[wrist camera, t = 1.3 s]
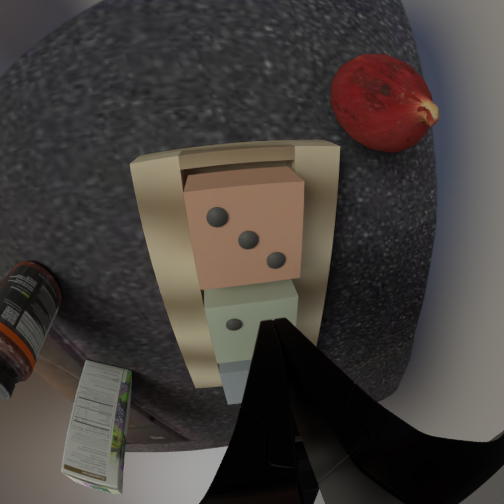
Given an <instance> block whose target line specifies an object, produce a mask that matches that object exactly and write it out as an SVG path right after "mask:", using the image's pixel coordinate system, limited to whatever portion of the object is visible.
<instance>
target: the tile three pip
mask: <svg viewBox="0 0 504 504" xmlns="http://www.w3.org/2000/svg"><path fill="white" fill-rule="evenodd" d="M183 193H184V200H185V207H186V213H187V219H188V226H189V232H190V237H191V243H192V249H193V254H194V260H195V265H196V270H197V275H198V280H199V285H200V290H205V289H214V288H223V287H232V286H240V285H248V284H256V283H264V282H272V281H279V280H287V279H294V278H300V269H301V253H302V234H303V211H304V181H303V180H302V179H301V178H300V177H299V176H298V175H297V174H296V173H295V172H293V171H292V170H291V169H290V168H289V167H288V166H287V167H269V168H255V169H242V170H231V171H221V172H212V173H203V174H195V175H188V178H187V181H186V185H185V188H184V192H183Z"/></svg>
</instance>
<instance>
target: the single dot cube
mask: <svg viewBox="0 0 504 504" xmlns="http://www.w3.org/2000/svg"><path fill="white" fill-rule="evenodd" d="M251 360H252V359H251ZM251 360H243V361H235V362H226V363H219V371H220V377H221V380H222V384H223V388H224V392H225V395H226V399H227V403H228V404H237V403H242V399H243V394H244V390H245V386H246V382H247V377H248V373H249V369H250V364H251Z"/></svg>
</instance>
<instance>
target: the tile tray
mask: <svg viewBox="0 0 504 504" xmlns="http://www.w3.org/2000/svg"><path fill="white" fill-rule="evenodd" d="M339 161H340V146H338V145H336V144H333V143H331V142H328V141H326V140H277V141H256V142H241V143H229V144H218V145H209V146H200V147H192V148H184V149H177V150H171V151H164V152H158V153H152V154H147V155H141V156H139V157H138V158H137V159H135V160H134V161H133V162H132V163H130V168H131V174H132V179H133V185H134V190H135V195H136V199H137V204H138V209H139V213H140V218H141V222H142V226H143V230H144V234H145V238H146V242H147V246H148V250H149V254H150V257H151V261H152V265H153V268H154V272H155V275H156V279H157V282H158V285H159V288H160V292H161V295H162V298H163V301H164V304H165V307H166V310H167V313H168V316H169V319H170V322H171V325H172V328H173V331H174V334H175V336H176V339H177V342H178V345H179V347H180V350H181V353H182V355H183V358H184V360H185V363H186V365H187V368H188V370H189V373H190V375H191V378H192V380H193V383H194V385H195V387H196V388H205V387H217V386H223V384H222V380H221V377H220V371H219V363H217V361H216V357H215V353H214V349H213V345H212V340H211V336H210V332H209V327H208V323H207V319H206V314H205V309H204V290H200V285H199V280H198V275H197V270H196V265H195V260H194V254H193V249H192V243H191V237H190V232H189V226H188V219H187V213H186V207H185V200H184V193H183V192H184V188H185V185H186V181H187V178H188V175H195V174H203V173H212V172H221V171H231V170H242V169H255V168H269V167H287V166H288V167H289V168H290V169H291V170H292V171H293V172H295V173H296V174H297V175H298V176H299V177H300V178H301V179H302V180H303V181H304V211H303V234H302V253H301V269H300V278H294V279H291V280H292V282H293V285H294V287H295V289H296V292H297V294H298V308H297V319H296V328H297V329H298V330H300V331H301V332H302V333H303V334H304V335H305V336H306V337H307V338H308V339H309V340H310V341H311V342H312V343H313V344H314V345H315V346H316V345H317V340H318V335H319V330H320V324H321V319H322V313H323V307H324V301H325V295H326V289H327V282H328V275H329V268H330V260H331V252H332V244H333V235H334V226H335V216H336V205H337V192H338V178H339Z"/></svg>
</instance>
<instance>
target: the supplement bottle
mask: <svg viewBox="0 0 504 504" xmlns="http://www.w3.org/2000/svg"><path fill="white" fill-rule="evenodd" d="M61 300H62V296H61V291H60V288H59V285H58V284H57V282H56V280H55V279H54V277H53V276H52V275H51V274H50V273H49V272H48V271H47V270H46V269H45V268H44V267H42V266H41V265H39V264H37V263H34V262H32V261H23V262H20V263H18V264H17V265H16V266H15V267H14V268H13V269H12V270H11V272H10V273H9V274H8V276H7V277H6V278H5V280H4V281H3V283H2V284H1V285H0V397H1V398H4V399H10V398H11V395H12V392H13V390H14V388H15V384H16V383H18V382H20V381H25V380H27V379H28V378H29V377H30V375H31V373H32V371H33V368H34V366H35V363H36V361H37V359H38V356H39V353H40V351H41V348H42V346H43V344H44V341H45V339H46V336H47V334H48V332H49V330H50V327H51V326H52V323H53V321H54V319H55V317H56V314H57V312H58V309H59V307H60V305H61Z"/></svg>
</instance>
